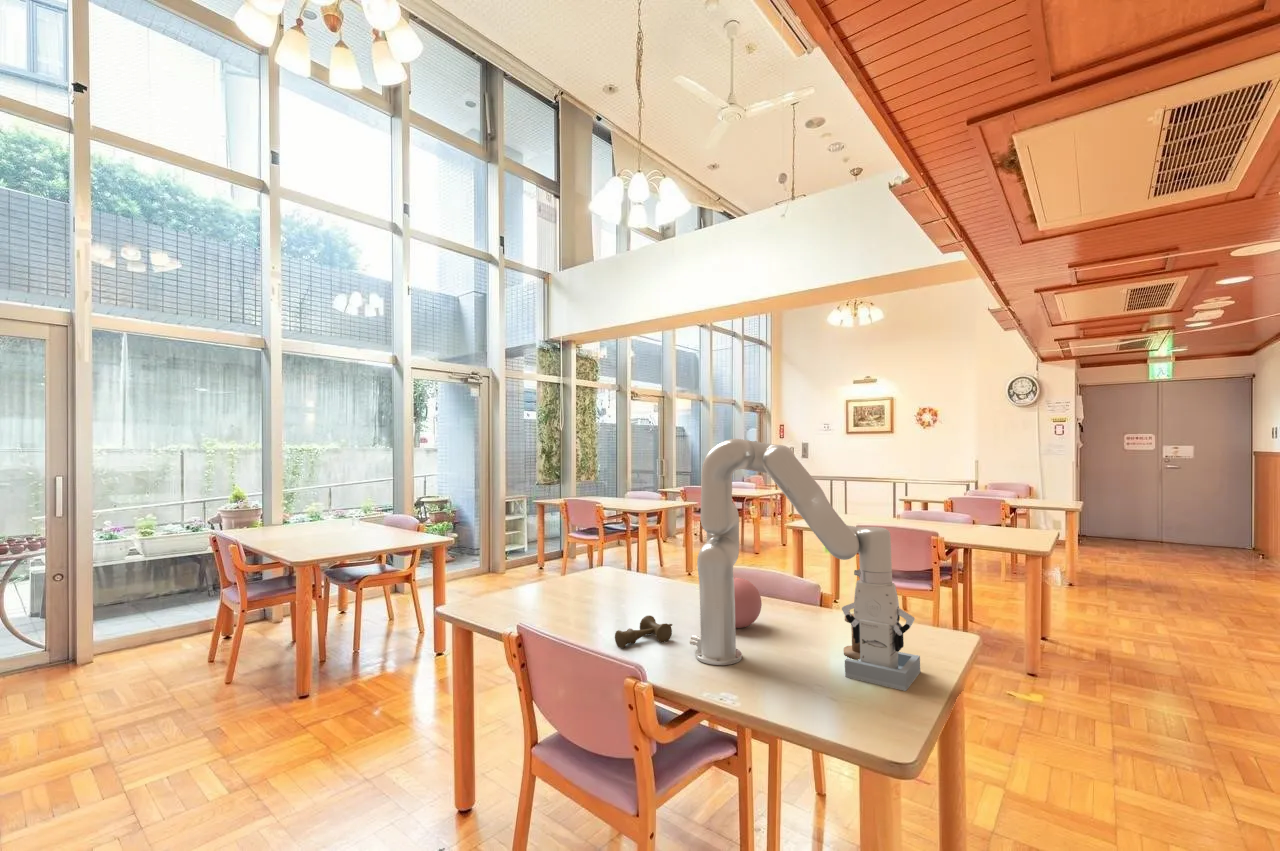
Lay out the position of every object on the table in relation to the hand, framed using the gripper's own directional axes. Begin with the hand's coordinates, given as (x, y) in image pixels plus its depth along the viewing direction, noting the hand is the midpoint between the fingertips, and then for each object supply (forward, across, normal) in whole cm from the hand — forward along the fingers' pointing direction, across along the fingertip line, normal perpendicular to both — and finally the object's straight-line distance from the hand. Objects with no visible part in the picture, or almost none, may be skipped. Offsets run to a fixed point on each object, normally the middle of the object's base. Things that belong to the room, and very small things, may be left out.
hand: (878, 645), depth 143 cm
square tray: (+7, +1, 0) cm, 7 cm away
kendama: (+7, -62, -15) cm, 65 cm away
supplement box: (+6, 0, 0) cm, 6 cm away
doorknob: (+7, -8, +10) cm, 14 cm away
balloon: (+7, -49, +13) cm, 51 cm away
